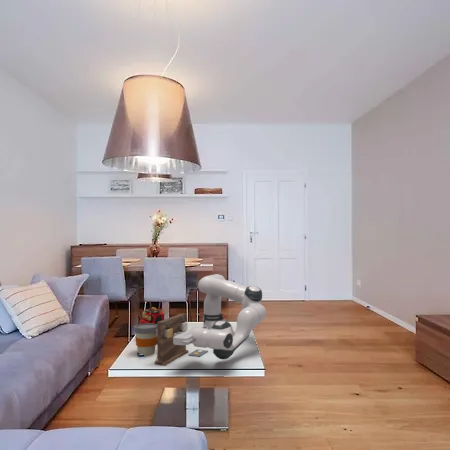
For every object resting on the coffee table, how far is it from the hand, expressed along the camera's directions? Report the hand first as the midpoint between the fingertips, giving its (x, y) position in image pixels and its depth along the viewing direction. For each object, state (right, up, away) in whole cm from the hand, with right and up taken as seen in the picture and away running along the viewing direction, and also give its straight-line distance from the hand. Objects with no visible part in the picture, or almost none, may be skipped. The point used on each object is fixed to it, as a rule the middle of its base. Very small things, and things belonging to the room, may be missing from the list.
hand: (175, 334), depth 182 cm
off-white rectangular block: (0, -2, +17) cm, 17 cm away
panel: (-3, -15, +9) cm, 18 cm away
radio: (-20, -17, +39) cm, 47 cm away
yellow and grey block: (-6, -2, +3) cm, 7 cm away
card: (+10, -15, +16) cm, 25 cm away
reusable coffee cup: (-18, -16, +17) cm, 29 cm away
